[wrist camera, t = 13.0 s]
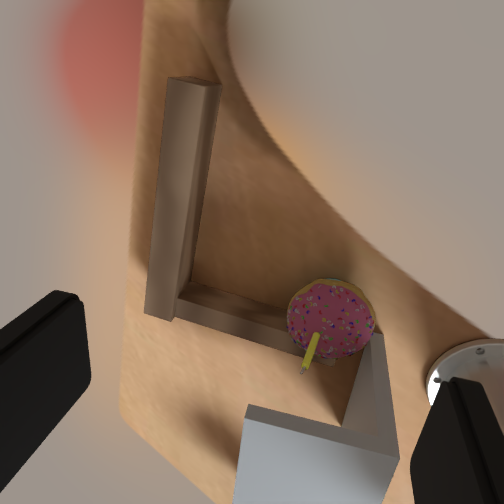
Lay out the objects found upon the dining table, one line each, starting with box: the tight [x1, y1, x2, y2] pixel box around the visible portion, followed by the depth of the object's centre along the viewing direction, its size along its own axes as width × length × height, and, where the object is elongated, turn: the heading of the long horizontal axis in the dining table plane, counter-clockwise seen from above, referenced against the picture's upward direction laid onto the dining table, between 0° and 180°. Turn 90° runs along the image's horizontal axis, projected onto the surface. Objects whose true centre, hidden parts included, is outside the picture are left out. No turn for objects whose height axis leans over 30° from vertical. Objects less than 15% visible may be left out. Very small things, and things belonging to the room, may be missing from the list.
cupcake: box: [286, 278, 376, 374], centre depth 37 cm, size 9×8×12 cm
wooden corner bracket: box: [144, 77, 336, 367], centre depth 39 cm, size 21×24×5 cm
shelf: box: [232, 332, 400, 504], centre depth 40 cm, size 12×15×16 cm
